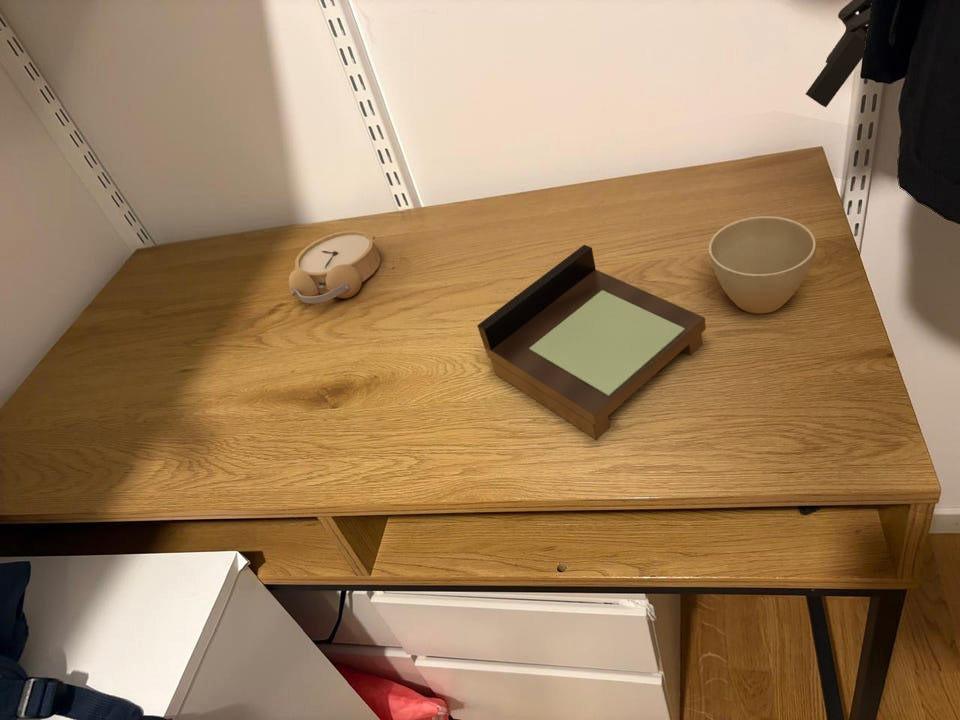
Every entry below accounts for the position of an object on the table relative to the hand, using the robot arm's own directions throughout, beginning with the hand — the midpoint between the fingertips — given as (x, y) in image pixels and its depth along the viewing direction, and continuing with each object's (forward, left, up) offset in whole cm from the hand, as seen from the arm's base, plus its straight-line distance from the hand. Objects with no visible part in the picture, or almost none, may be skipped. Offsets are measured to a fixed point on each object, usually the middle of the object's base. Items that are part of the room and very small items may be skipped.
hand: (861, 125), depth 69 cm
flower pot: (+4, +10, -16) cm, 19 cm away
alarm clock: (+52, +36, -16) cm, 65 cm away
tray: (+12, +27, -16) cm, 33 cm away
